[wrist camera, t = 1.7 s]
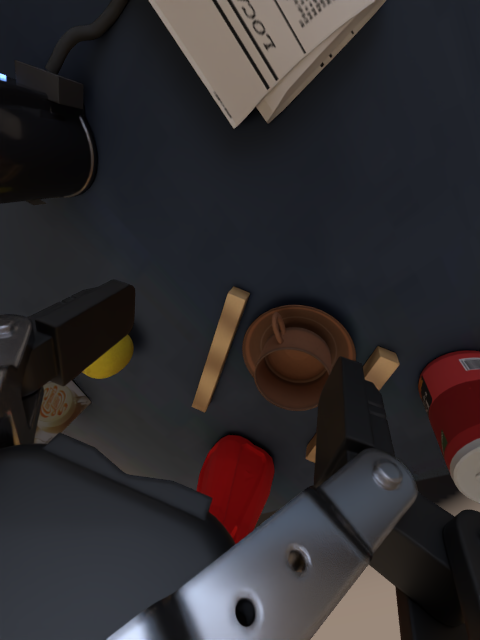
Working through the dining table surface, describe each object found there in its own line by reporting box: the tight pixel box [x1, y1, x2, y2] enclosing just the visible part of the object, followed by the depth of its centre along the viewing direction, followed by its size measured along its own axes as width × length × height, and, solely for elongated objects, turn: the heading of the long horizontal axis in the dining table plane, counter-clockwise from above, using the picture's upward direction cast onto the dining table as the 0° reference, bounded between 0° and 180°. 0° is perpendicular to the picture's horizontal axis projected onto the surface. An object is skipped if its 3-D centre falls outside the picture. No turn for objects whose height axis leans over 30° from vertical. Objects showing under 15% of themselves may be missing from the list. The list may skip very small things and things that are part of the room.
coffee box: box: [34, 380, 91, 444], centre depth 42 cm, size 9×6×16 cm
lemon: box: [82, 335, 134, 379], centre depth 36 cm, size 6×6×8 cm
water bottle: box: [197, 435, 274, 544], centre depth 33 cm, size 9×11×25 cm
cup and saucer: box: [242, 305, 356, 411], centre depth 30 cm, size 12×12×6 cm
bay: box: [192, 287, 400, 463], centre depth 35 cm, size 18×18×2 cm
